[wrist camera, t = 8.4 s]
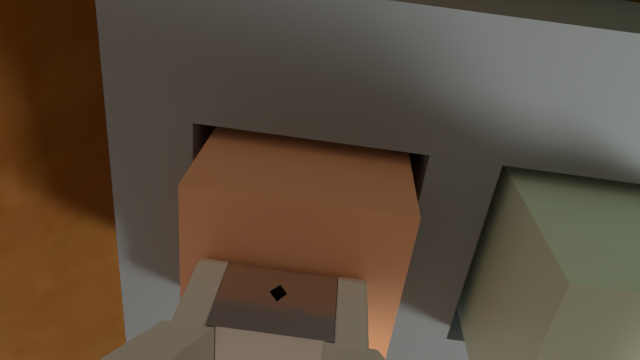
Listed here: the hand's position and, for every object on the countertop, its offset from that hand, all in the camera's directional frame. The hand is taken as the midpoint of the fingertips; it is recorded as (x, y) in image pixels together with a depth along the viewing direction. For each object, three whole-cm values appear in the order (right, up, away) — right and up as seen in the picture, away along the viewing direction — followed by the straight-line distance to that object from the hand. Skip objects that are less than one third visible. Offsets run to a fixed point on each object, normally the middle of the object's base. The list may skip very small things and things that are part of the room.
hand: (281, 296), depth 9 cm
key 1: (+1, +3, +5) cm, 6 cm away
